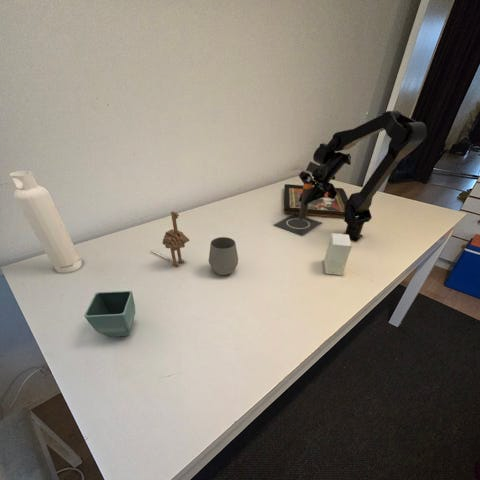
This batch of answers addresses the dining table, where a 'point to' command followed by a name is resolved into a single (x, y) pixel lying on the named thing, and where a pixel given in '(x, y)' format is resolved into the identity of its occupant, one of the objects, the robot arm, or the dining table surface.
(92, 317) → the flower pot
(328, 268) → the small box
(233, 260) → the cup
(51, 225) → the bottle
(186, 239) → the ostrich figurine
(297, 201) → the framed painting
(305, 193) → the marker
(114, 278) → the dining table surface
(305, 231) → the board
